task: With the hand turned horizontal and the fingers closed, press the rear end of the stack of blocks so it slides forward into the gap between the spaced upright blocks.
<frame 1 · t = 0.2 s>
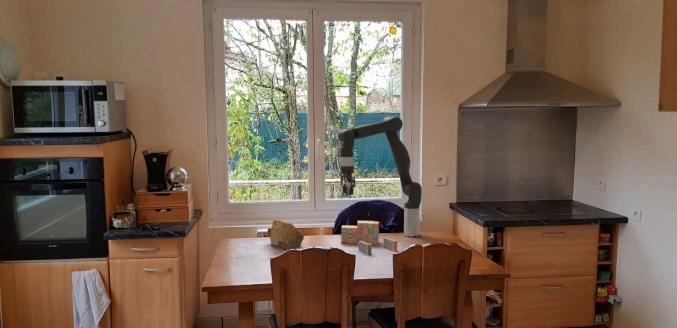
hand: (348, 193, 257), 29 cm above the table, tool pointing down, fingers open, 8 cm apart
spaced upright blocks: (377, 250, 245), on the table
rough brown rock: (288, 246, 253), on the table
stack of blocks: (360, 243, 262), on the table
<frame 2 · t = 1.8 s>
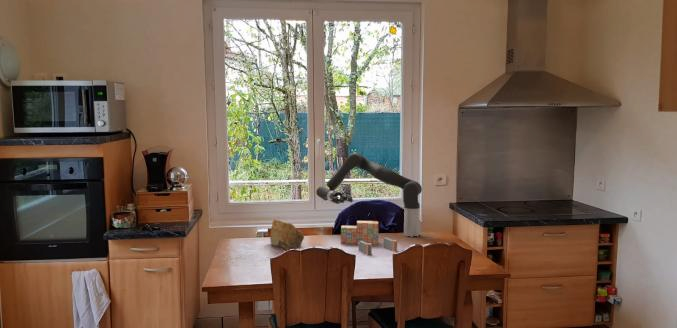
hand: (347, 200, 274), 22 cm above the table, tool horizontal, fingers open, 5 cm apart
nothing on the table moved.
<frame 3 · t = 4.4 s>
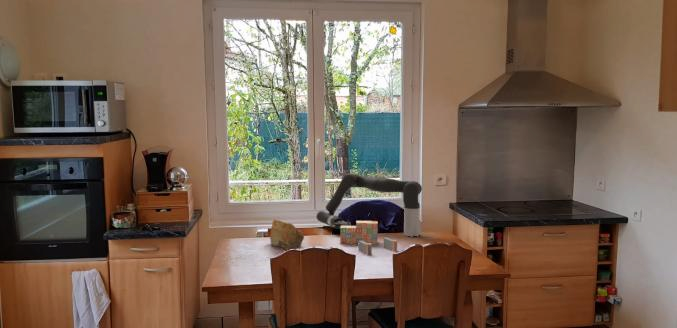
hand: (348, 227, 274), 6 cm above the table, tool horizontal, fingers closed
nothing on the table moved.
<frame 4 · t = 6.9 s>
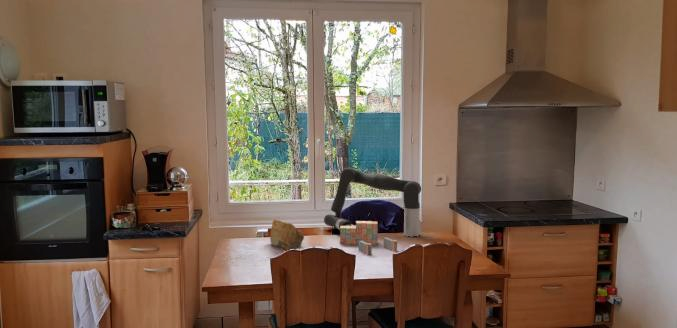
hand: (357, 231, 264), 6 cm above the table, tool horizontal, fingers closed
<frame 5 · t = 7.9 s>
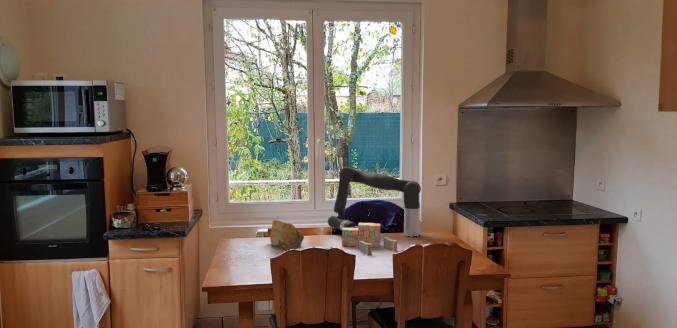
hand: (362, 233, 259), 6 cm above the table, tool horizontal, fingers closed
stack of blocks: (361, 245, 256), on the table, touching gripper
everything else where it was.
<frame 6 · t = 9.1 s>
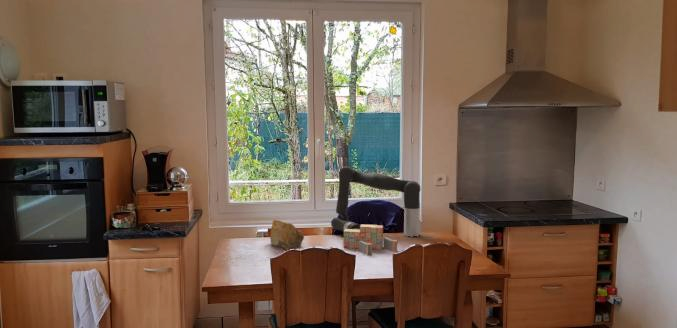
hand: (367, 235, 255), 6 cm above the table, tool horizontal, fingers closed
stack of blocks: (363, 247, 252), on the table
everything else where it was.
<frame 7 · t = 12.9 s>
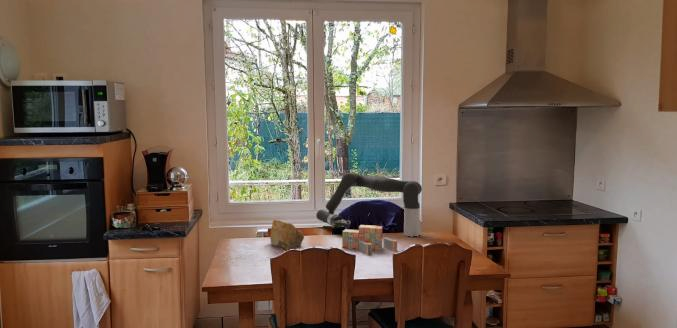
hand: (348, 225, 275), 7 cm above the table, tool horizontal, fingers closed
stack of blocks: (362, 248, 251), on the table
everything else where it was.
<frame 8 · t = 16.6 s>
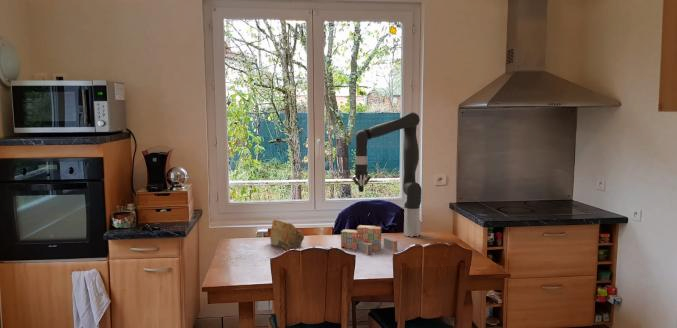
hand: (361, 191, 277), 27 cm above the table, tool pointing down, fingers closed
at the end: stack of blocks moved 11.8 cm from its start; stack of blocks inside the target area (8.3 cm from its centre), on the table; stack of blocks tilted 0° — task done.
